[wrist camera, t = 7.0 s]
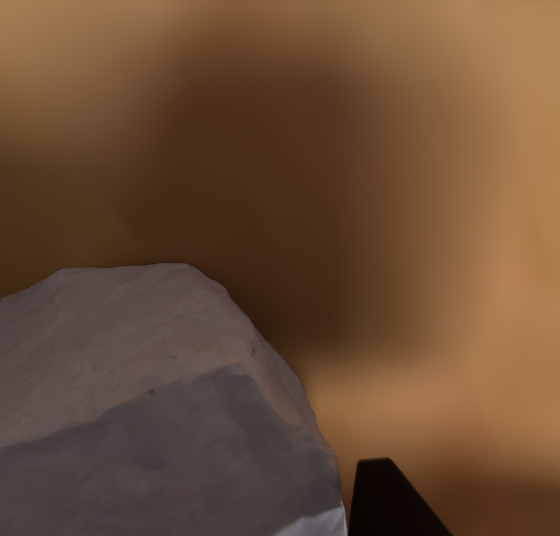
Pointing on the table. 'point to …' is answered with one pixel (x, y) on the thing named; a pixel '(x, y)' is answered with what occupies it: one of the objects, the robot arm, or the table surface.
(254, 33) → the table surface
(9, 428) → the stone block
